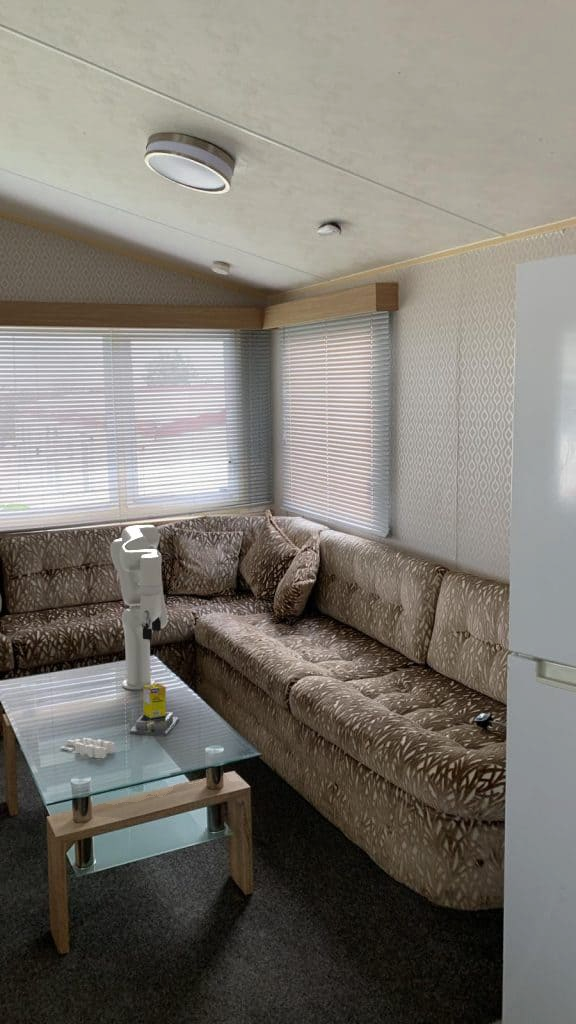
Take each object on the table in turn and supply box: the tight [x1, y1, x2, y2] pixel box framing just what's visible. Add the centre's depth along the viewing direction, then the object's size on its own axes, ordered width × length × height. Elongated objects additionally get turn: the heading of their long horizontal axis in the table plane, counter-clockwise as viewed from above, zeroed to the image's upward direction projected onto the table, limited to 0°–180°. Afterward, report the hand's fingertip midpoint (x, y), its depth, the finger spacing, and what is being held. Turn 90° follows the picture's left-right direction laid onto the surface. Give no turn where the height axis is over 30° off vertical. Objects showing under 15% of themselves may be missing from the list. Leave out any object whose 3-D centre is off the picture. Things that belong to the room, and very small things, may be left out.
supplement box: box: [142, 682, 167, 720], centre depth 295 cm, size 6×6×11 cm
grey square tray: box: [129, 711, 180, 736], centre depth 295 cm, size 14×13×4 cm
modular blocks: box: [59, 737, 115, 759], centre depth 276 cm, size 20×7×4 cm, turn 67°
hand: (151, 634), depth 307 cm, fingers open, 9 cm apart
